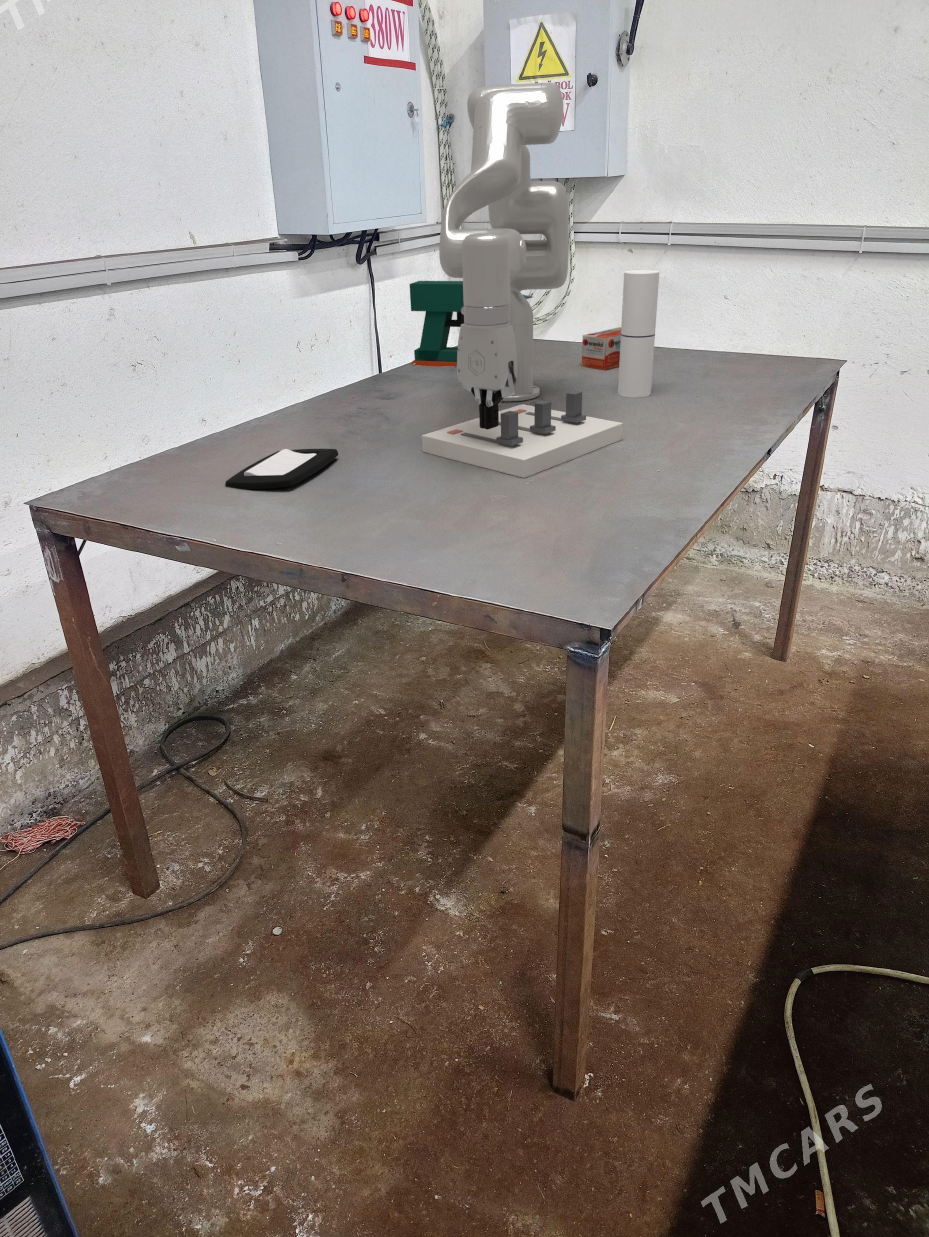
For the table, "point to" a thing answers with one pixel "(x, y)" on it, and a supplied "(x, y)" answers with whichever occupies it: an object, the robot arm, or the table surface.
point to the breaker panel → (535, 449)
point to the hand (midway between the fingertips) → (489, 427)
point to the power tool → (438, 319)
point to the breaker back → (573, 407)
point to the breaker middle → (542, 418)
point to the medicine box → (601, 349)
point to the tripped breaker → (509, 429)
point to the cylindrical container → (638, 332)
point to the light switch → (282, 469)
